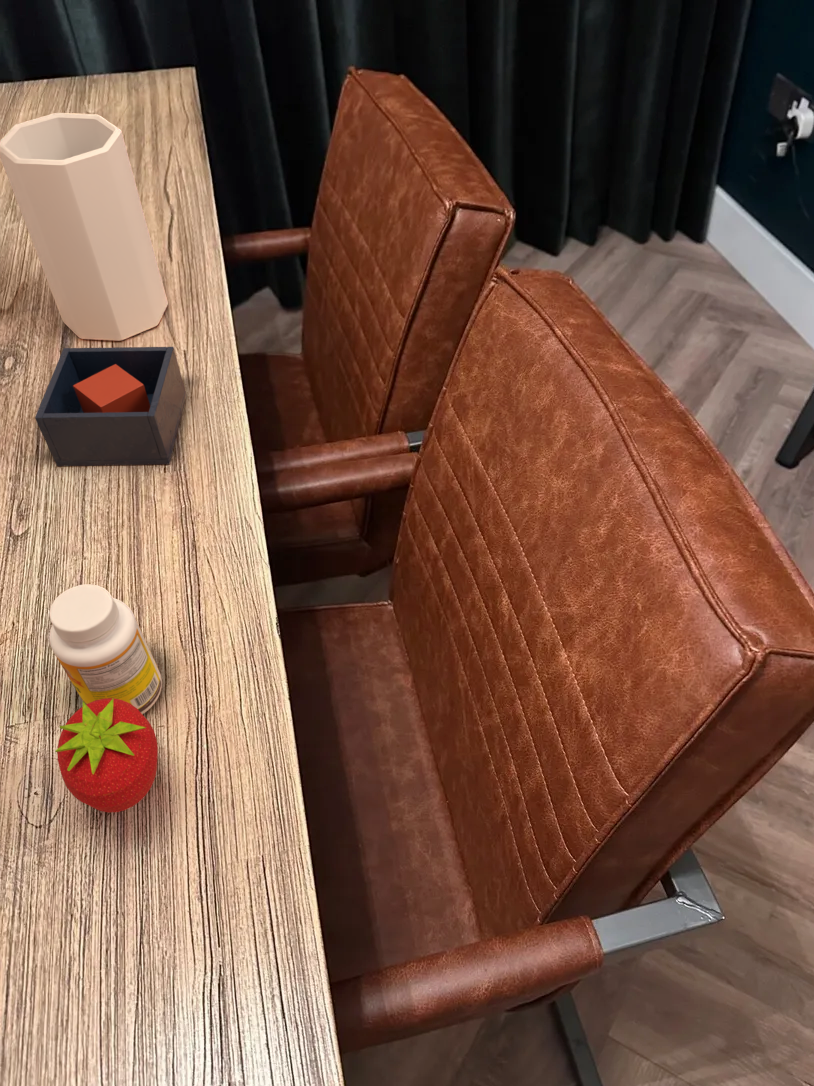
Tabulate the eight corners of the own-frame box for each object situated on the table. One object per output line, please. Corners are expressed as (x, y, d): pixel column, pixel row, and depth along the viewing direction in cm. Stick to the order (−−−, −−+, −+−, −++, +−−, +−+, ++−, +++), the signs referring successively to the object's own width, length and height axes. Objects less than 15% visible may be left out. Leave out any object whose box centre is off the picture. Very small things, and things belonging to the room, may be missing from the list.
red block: (115, 446, 80) (100, 407, 77) (88, 424, 82) (72, 385, 78) (156, 423, 82) (143, 384, 79) (128, 402, 84) (115, 363, 81)
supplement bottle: (88, 668, 65) (39, 579, 57) (164, 657, 66) (126, 568, 58) (83, 732, 62) (31, 647, 54) (163, 719, 62) (123, 633, 54)
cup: (162, 278, 99) (115, 104, 85) (175, 332, 93) (126, 153, 78) (60, 295, 97) (-6, 119, 83) (66, 351, 90) (-5, 170, 76)
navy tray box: (56, 466, 79) (34, 417, 75) (82, 396, 86) (63, 347, 81) (169, 464, 79) (154, 415, 75) (186, 394, 86) (173, 346, 82)
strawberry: (165, 733, 62) (126, 650, 54) (186, 825, 57) (147, 749, 50) (79, 761, 60) (26, 679, 52) (95, 858, 56) (40, 785, 48)
